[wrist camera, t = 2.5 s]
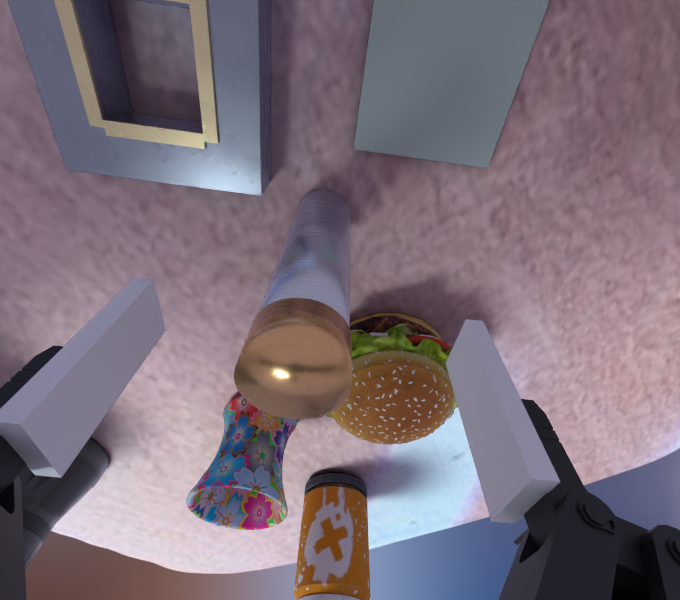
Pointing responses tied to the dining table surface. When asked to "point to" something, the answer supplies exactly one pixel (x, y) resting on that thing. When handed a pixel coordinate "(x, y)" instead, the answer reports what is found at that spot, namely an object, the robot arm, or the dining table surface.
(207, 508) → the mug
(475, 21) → the rest pad
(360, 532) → the canister
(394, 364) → the food
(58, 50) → the plate
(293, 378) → the key peg
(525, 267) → the dining table surface
